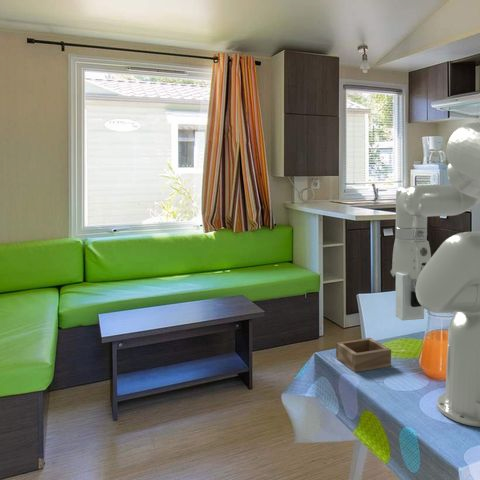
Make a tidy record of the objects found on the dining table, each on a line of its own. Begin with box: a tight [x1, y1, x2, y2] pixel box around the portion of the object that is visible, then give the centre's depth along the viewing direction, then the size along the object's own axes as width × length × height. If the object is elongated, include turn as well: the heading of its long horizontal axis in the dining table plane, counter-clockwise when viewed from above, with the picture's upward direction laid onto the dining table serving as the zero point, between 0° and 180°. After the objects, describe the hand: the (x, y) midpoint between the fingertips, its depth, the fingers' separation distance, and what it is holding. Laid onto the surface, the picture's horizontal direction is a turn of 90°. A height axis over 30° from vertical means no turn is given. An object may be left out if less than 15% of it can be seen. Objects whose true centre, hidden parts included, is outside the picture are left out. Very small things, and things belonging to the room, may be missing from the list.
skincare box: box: [395, 272, 425, 321], centre depth 113 cm, size 6×4×12 cm
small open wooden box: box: [335, 337, 392, 373], centre depth 117 cm, size 9×11×4 cm
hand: (409, 303), depth 114 cm, fingers closed on skincare box, 4 cm apart
